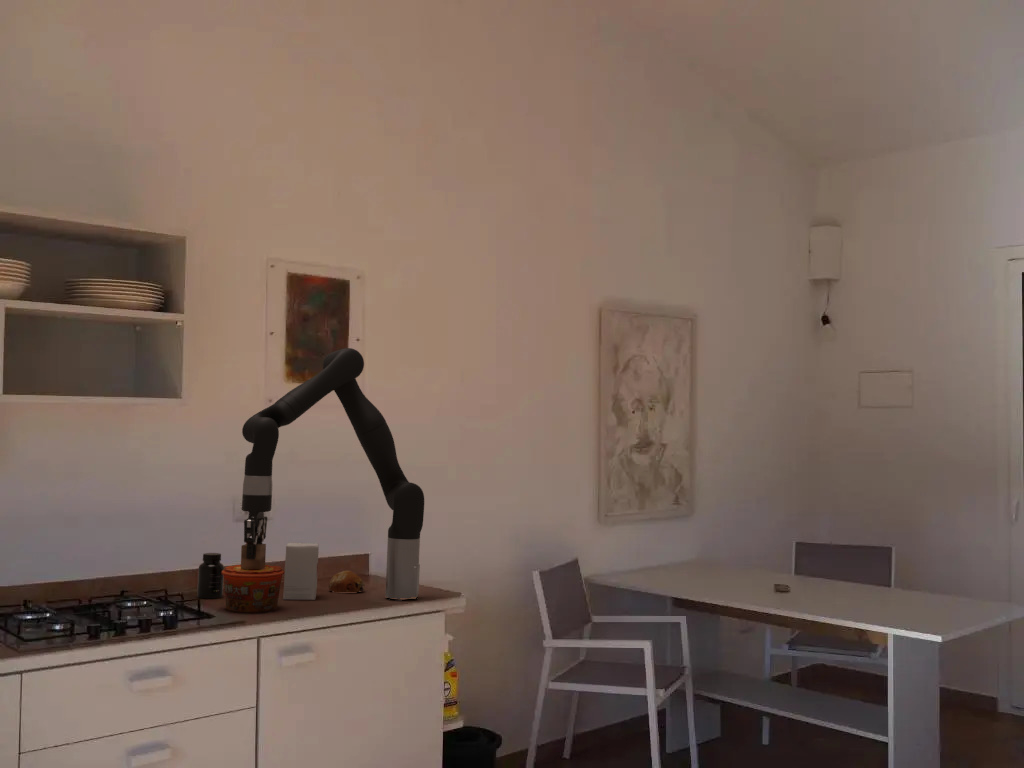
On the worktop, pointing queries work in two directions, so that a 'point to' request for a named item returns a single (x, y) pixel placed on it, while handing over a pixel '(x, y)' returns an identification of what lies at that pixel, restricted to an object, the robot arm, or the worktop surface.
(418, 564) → the robot arm
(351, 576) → the bread roll
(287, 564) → the supplement box
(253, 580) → the food container
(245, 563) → the walnut block
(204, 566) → the supplement bottle
